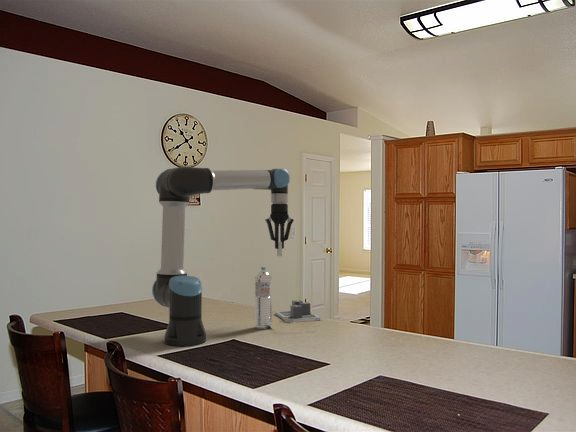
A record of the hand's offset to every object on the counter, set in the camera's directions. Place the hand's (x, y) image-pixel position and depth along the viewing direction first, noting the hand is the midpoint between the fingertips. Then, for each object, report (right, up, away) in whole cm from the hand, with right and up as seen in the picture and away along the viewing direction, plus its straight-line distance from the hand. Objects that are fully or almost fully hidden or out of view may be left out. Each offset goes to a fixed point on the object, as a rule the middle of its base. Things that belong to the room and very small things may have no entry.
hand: (279, 256), depth 222 cm
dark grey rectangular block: (+7, -27, -8) cm, 29 cm away
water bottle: (-6, -29, -17) cm, 34 cm away
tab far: (+8, -27, +4) cm, 29 cm away
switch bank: (+8, -28, -2) cm, 30 cm away
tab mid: (+11, -27, -1) cm, 29 cm away
